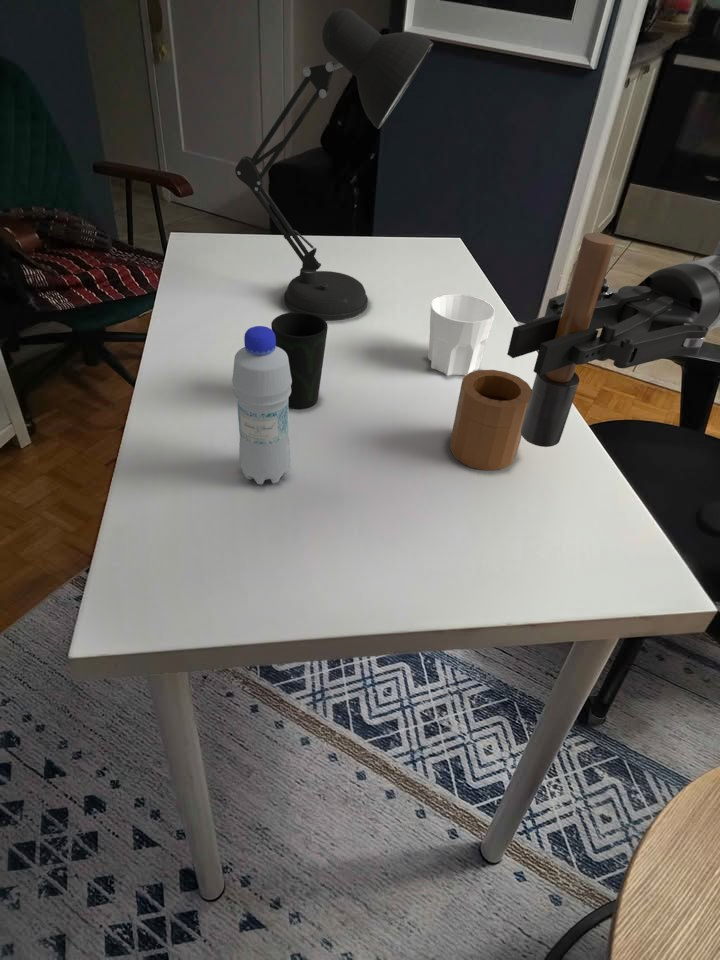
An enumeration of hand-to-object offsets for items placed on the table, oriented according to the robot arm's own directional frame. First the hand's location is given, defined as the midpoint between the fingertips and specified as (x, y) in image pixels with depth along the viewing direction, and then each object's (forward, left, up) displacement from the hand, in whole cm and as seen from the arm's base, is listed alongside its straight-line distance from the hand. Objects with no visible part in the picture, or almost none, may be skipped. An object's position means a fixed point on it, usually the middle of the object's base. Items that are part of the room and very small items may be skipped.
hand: (527, 351), depth 56 cm
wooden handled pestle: (-2, -5, -11) cm, 12 cm away
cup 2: (+24, -37, -26) cm, 51 cm away
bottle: (+28, +4, -26) cm, 39 cm away
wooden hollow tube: (+9, -19, -26) cm, 34 cm away
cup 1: (+36, -12, -26) cm, 46 cm away
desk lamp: (+53, -41, -26) cm, 72 cm away
